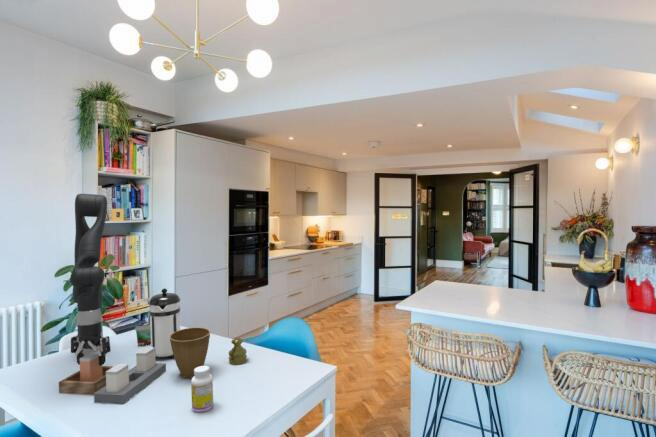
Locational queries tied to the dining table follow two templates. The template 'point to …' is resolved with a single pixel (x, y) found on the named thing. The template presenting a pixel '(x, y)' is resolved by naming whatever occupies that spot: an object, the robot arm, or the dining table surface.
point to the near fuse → (117, 378)
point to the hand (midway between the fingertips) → (91, 364)
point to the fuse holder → (130, 385)
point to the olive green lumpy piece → (237, 352)
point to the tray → (82, 384)
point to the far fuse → (145, 359)
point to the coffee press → (164, 321)
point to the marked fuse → (90, 368)
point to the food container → (143, 334)
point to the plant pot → (190, 349)
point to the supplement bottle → (202, 389)
